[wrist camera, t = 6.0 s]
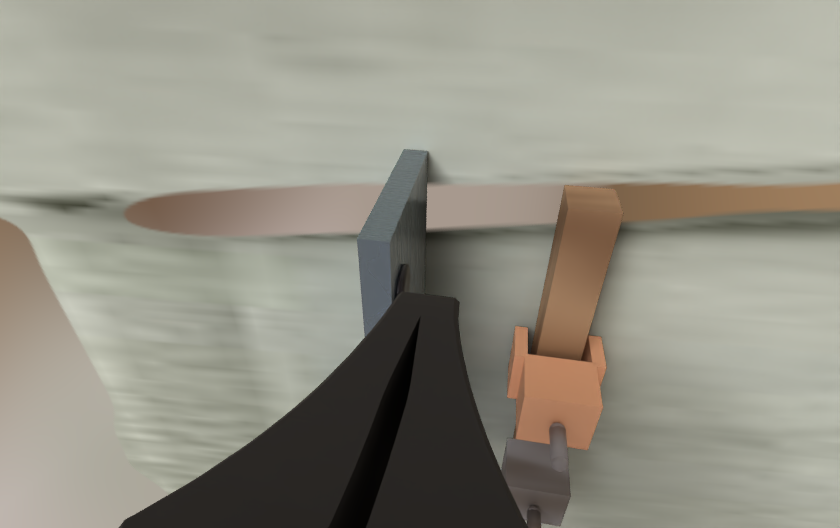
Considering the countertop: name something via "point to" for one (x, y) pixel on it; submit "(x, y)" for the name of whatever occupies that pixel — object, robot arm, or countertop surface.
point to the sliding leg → (556, 396)
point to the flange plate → (395, 239)
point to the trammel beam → (564, 335)
